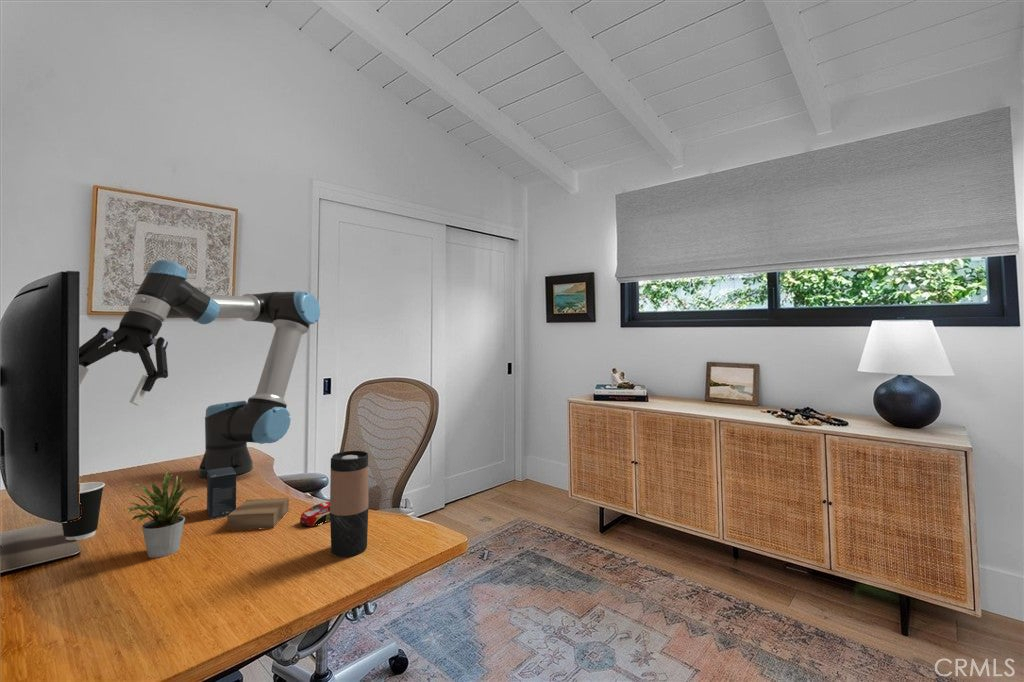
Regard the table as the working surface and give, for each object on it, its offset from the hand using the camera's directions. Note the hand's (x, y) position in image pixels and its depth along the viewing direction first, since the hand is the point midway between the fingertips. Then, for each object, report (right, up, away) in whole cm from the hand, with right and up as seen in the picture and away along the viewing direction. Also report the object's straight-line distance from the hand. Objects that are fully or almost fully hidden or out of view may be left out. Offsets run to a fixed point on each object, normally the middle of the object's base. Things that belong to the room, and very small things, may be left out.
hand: (101, 399), depth 100 cm
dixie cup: (-4, -31, -1) cm, 31 cm away
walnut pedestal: (+31, -31, +8) cm, 45 cm away
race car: (+47, -31, +10) cm, 58 cm away
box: (+18, -31, +13) cm, 38 cm away
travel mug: (+58, -31, -6) cm, 67 cm away
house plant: (+19, -31, -7) cm, 37 cm away
